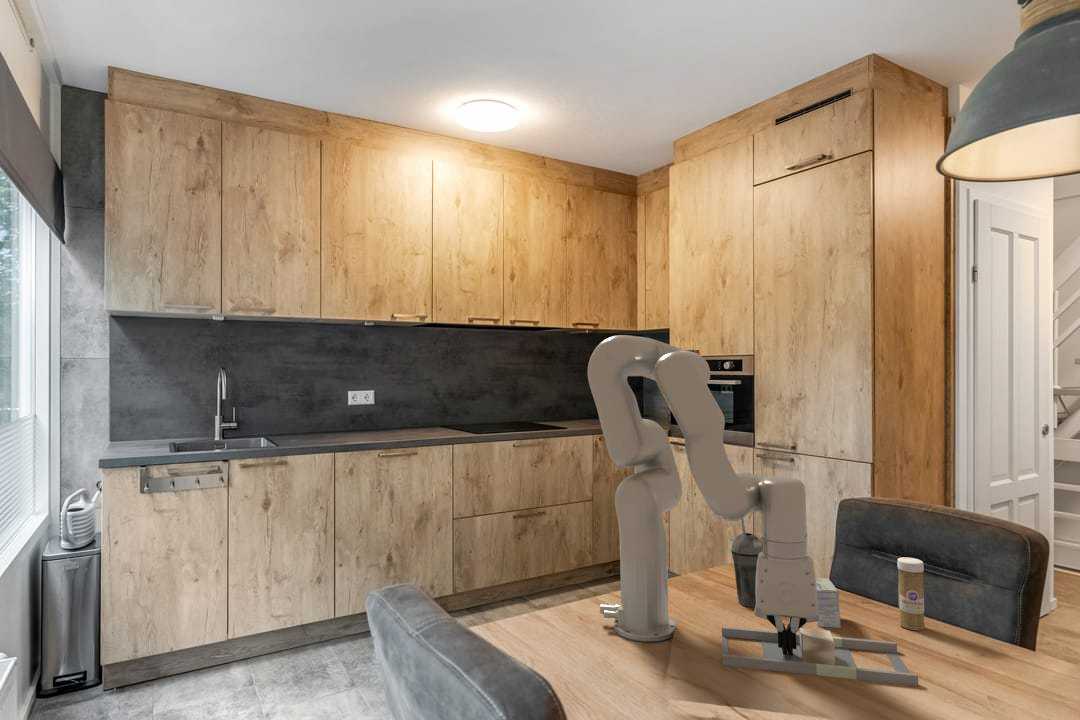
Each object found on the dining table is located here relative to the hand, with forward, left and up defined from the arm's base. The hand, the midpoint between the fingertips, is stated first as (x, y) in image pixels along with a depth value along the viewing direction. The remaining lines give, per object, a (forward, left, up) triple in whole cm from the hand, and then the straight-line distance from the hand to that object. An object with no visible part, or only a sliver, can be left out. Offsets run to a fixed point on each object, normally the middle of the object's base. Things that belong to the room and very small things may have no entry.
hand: (787, 651), depth 111 cm
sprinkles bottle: (+26, +23, -2) cm, 35 cm away
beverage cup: (-5, +29, -2) cm, 30 cm away
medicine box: (+9, +19, -2) cm, 21 cm away
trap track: (+4, 0, -2) cm, 4 cm away
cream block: (+5, 0, -1) cm, 5 cm away
